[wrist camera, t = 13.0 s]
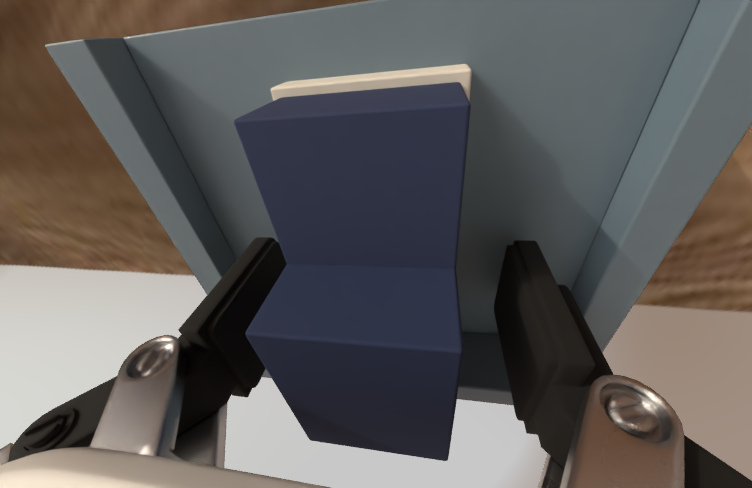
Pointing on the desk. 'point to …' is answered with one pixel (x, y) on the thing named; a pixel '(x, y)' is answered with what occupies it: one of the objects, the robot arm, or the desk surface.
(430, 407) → the navy stepped block
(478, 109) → the shoe shelf
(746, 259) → the desk surface
